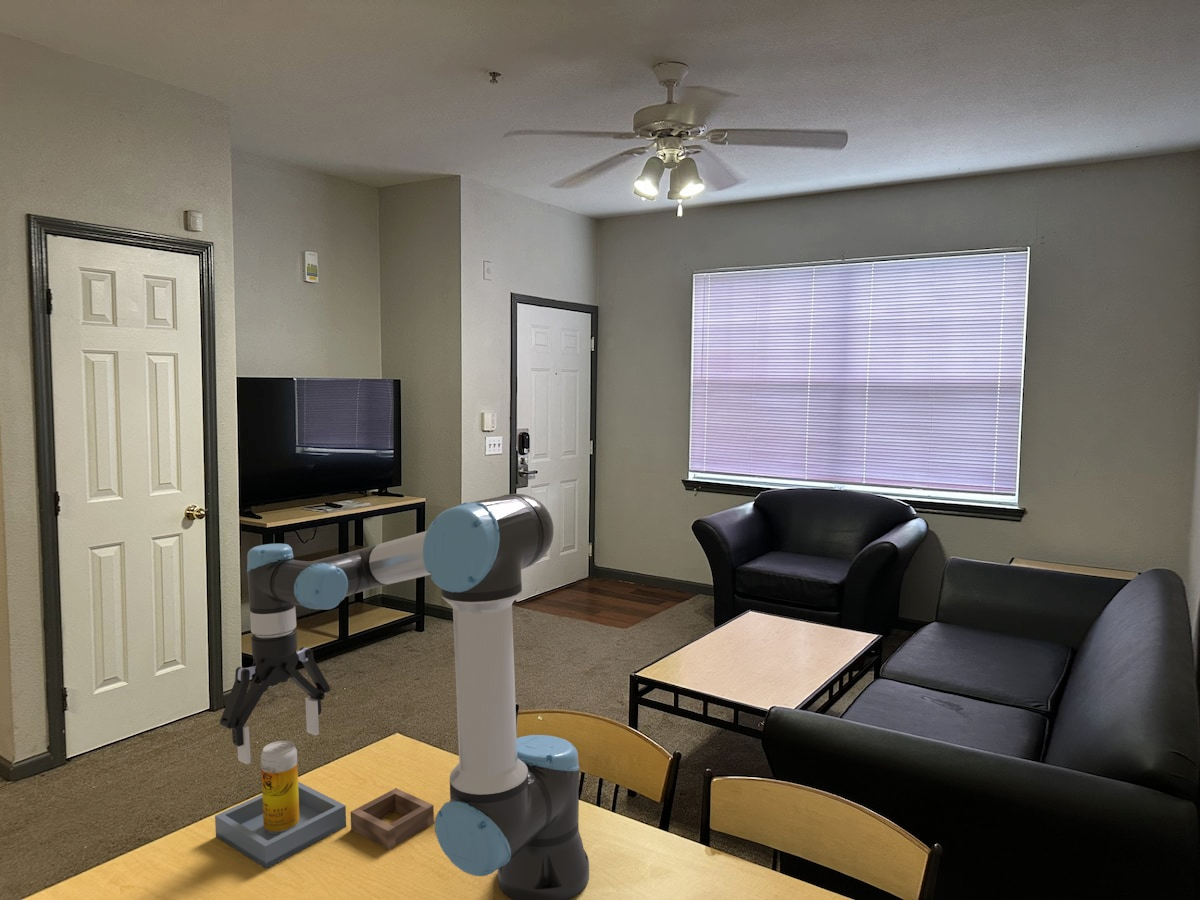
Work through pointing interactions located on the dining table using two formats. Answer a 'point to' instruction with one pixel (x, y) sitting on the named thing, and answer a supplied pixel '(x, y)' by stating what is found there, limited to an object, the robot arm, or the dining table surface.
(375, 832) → the collar holder
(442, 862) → the dining table surface
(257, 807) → the tray
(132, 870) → the dining table surface
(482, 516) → the robot arm
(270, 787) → the beer can
